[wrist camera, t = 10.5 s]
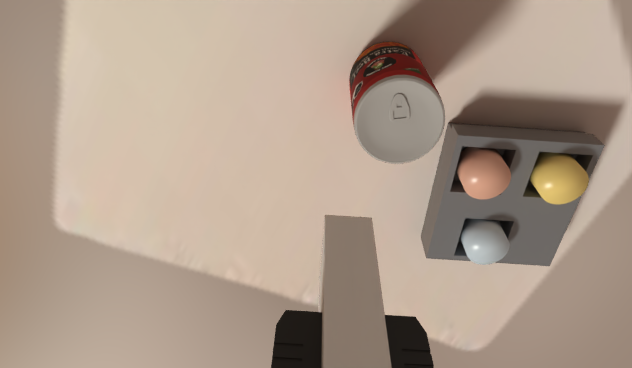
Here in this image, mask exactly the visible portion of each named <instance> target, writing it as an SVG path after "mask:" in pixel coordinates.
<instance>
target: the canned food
mask: <svg viewBox="0 0 632 368" xmlns="http://www.w3.org/2000/svg"><path fill="white" fill-rule="evenodd" d="M349 81H350V95H351V106H352V116H353V124H354V129H355V134H356V136H357V139H358V141H359V143H360V145H361V146H362V148H363V149H364V150H365V151H366V152H367V153H368V154H369V155H370V156H372V157H373V158H375V159H377V160H379V161H382V162H385V163H391V164H403V163H407V162H411V161H414V160H416V159H419V158H420V157H422V156H424V155H425V154H427V153H428V152H429V151H430V150H431V149H432V148H433V147H434V146H435V144H436V143H437V142H438V140H439V138H440V136H441V135H442V132H443V129H444V125H445V111H444V106H443V103H442V100H441V97H440V95H439V93H438V91H437V89H436V88H435V86H434V84H433V82H432V80H431V79H430V77H429V75H428V73H427V71H426V70H425V68H424V66H423V64H422V62H421V61H420V59H419V57H418V56H417V55H416V54H415V53H414V51H413V50H411V49H410V48H408V47H407V46H405V45H402V44H400V43H395V42H383V43H379V44H375V45H373V46H371V47H369V48H368V49H367V50H365V51H364V52H363V53H362V54H361V55H360V56H359V57H358V58H357V60H356V61H355V63H354V65H353V67H352V70H351V73H350V79H349Z"/></svg>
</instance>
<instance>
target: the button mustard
mask: <svg viewBox="0 0 632 368" xmlns="http://www.w3.org/2000/svg"><path fill="white" fill-rule="evenodd" d="M529 180H530V181H531V182H532V184H533V185H534V187H535V188H536V190H537V191H538V193H539V194H540V195H541V197H542V198H543V199H544V200H545V201H546V202H548V203H551V204H565V203H569V202H571V201H573V200H575V199H577V198H578V197H579V196H581V195H582V194H583V192H584V191H585V190H586V188H587V186H588V182H589V178H588V174H587V172H586V171H585V170H584V169H583V168H582V167H581V166H580V164H579V163H578V162H577V161H576V160H575V159H574V158H573V157H572V156H571V155H570V154H568V153H553V152H542V153H540V154H538V157H537V159H536V162H535V165H534V167H533V170H532V173H531V175H530V178H529Z"/></svg>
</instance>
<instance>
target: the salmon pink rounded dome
mask: <svg viewBox="0 0 632 368" xmlns="http://www.w3.org/2000/svg"><path fill="white" fill-rule="evenodd" d="M456 172H457V174H458V176H459V179H460V181H461V183H462V185H463V187H464V190H465V191H466V193H467V194H468V195H469V196H471V197H473V198H476V199H490V198H493V197H496V196H498V195H499V194H501V193H502V192H503V191H504V190H505V189H506V188H507V187H508V185H509V183H510V180H511V172H510V169H509V168H508V166H507V165H506V163H505V162H504V160H503V158H502V157H501V155H500V154H499V152H498V151H497V150H496V149H495V148H480V147H467V148H466V149H464V150H463V151H462V152H461V153H460V156H459V160H458V164H457V167H456Z"/></svg>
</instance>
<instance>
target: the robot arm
mask: <svg viewBox="0 0 632 368" xmlns="http://www.w3.org/2000/svg"><path fill="white" fill-rule="evenodd" d="M271 368H433V361H432V356H431V354H430V347H429V343H428V338H427V333H426V332H425V330H424V329H423V327H422V326H421V324H420V323H419V321H418V320H417V319H416V317H409V316H392V315H385V314H384V307H383V299H382V292H381V284H380V276H379V269H378V261H377V254H376V246H375V239H374V231H373V223H372V218H366V217H351V216H335V215H325V220H324V231H323V242H322V254H321V265H320V276H319V312H308V311H292V310H286V311H285V312H284V314H283V315H282V317H281V318H280V320H279V322H278V323H277V325H276V332H275V341H274V348H273V357H272V365H271Z"/></svg>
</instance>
